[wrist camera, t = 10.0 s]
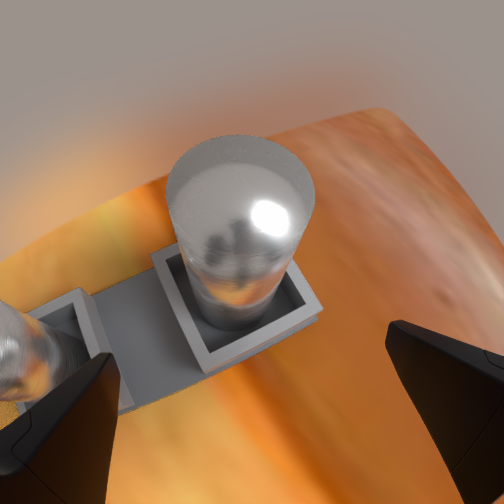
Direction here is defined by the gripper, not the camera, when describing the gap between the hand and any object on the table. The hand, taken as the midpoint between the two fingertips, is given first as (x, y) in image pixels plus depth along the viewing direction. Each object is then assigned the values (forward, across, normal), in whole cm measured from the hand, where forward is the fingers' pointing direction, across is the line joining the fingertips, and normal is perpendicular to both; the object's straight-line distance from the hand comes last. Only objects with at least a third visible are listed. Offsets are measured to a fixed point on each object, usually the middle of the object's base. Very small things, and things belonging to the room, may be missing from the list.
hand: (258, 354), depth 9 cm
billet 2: (+11, 0, +4) cm, 12 cm away
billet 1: (+8, +12, +7) cm, 17 cm away
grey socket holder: (+10, +6, +6) cm, 14 cm away
